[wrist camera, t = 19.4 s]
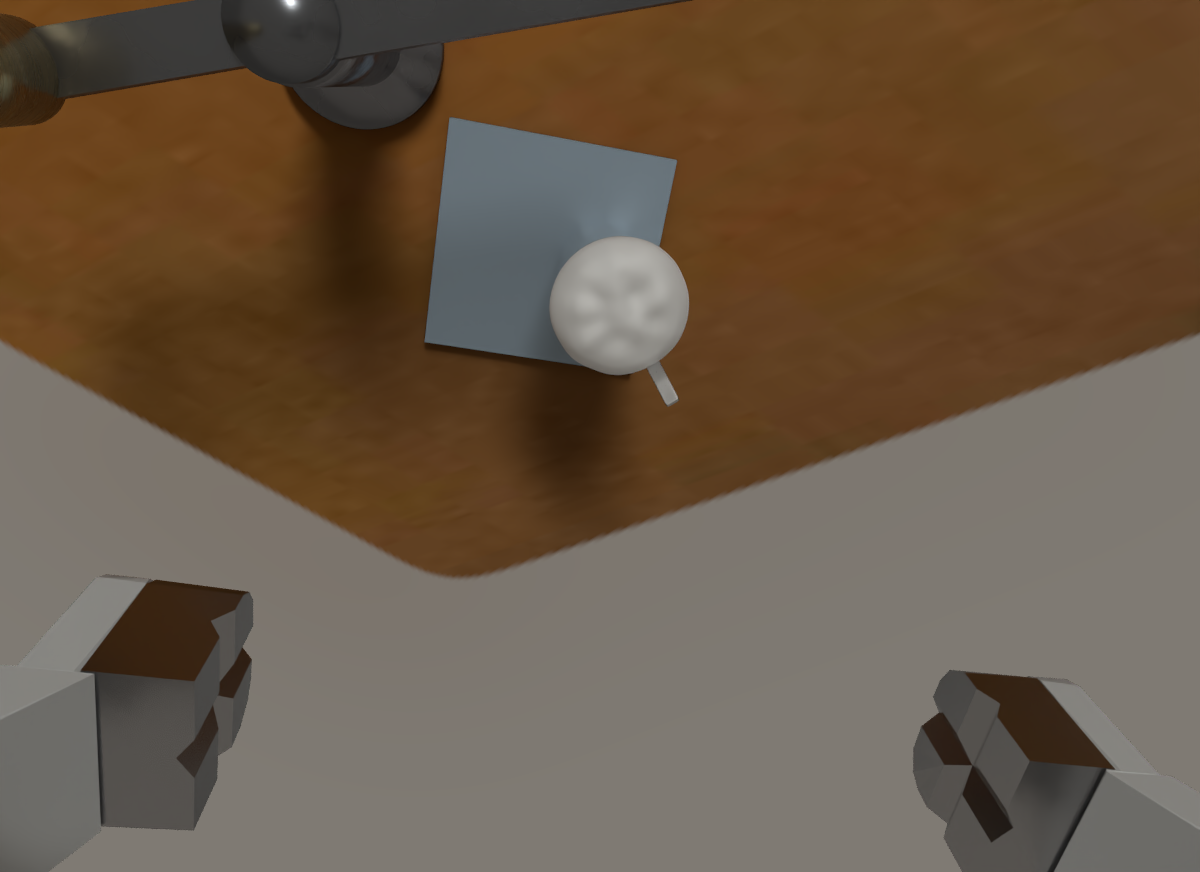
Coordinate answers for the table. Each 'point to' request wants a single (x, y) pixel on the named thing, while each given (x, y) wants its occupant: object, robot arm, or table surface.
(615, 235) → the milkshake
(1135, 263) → the table surface
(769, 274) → the table surface
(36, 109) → the lever
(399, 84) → the latch post
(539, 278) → the pad
